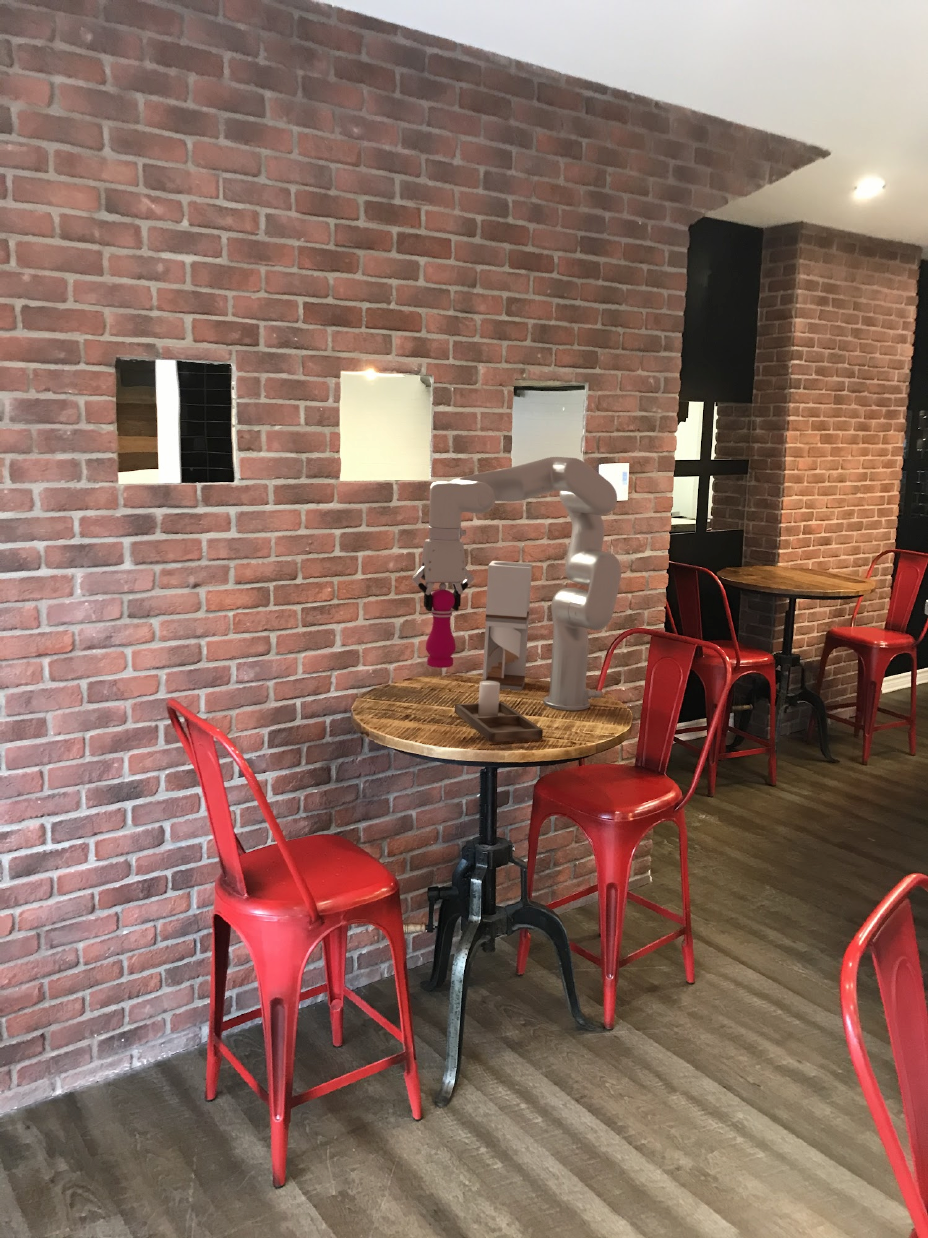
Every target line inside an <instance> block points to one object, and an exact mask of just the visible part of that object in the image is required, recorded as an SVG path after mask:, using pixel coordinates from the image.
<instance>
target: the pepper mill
mask: <svg viewBox="0 0 928 1238" xmlns="http://www.w3.org/2000/svg"><path fill="white" fill-rule="evenodd" d="M438 587H439V588H438V589H436V590H434V591H433V592H431V595H433V602H432V611H431V616H432V627H431V629H430V630H431V631H430V632H429V634H428V637H427V640H426V643H425V651H426V652H427V653H428V656H427V658H426V659H427V661H426V664H427V666H428V667H432V668H438V669H439V668H441V669H442V668H443V669H444V668H450V667H453V665H454V658H453V654H454V653H455V652H456V651H457V647H456V646H457V645H456V641H455V637H454V635H453V632H452V629H451V617H452V616H453V609H452V607H453V605H454V603H455V597H454V595H453V592H452V591H450V590H448V589H447V583H439V585H438Z"/></svg>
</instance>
